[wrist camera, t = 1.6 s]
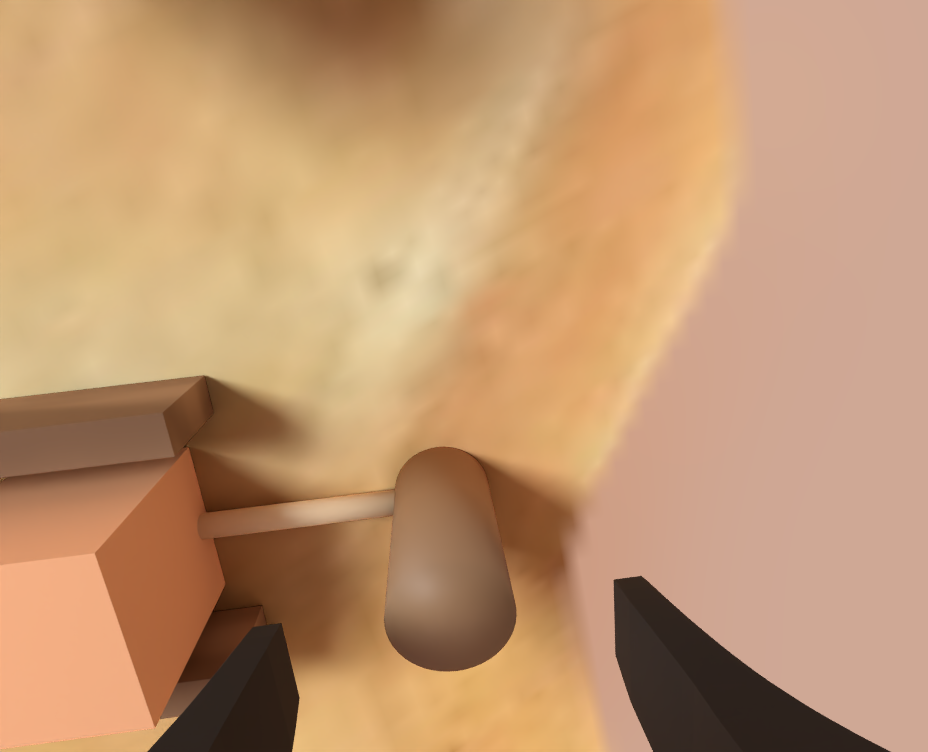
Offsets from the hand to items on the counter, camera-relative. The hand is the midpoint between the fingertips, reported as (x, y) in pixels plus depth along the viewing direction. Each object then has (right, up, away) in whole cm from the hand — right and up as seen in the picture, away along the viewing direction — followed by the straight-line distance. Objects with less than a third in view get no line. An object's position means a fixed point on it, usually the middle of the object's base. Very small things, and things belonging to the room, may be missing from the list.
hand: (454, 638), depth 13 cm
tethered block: (-6, +1, +6) cm, 9 cm away
